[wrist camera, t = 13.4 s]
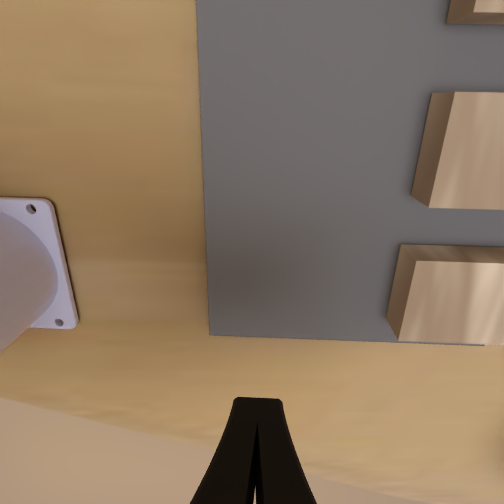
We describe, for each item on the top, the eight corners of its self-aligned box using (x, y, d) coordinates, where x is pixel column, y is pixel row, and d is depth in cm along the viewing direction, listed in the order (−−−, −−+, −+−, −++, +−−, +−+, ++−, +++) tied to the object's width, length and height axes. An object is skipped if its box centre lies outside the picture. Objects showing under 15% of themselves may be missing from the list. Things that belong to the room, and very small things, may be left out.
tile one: (398, 340, 18) (521, 345, 17) (416, 260, 16) (554, 265, 16) (385, 316, 20) (496, 320, 19) (399, 243, 18) (522, 246, 18)
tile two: (428, 207, 15) (576, 211, 15) (455, 91, 13) (624, 94, 13) (409, 195, 17) (540, 198, 17) (430, 93, 15) (576, 95, 15)
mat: (211, 329, 21) (209, 335, 21) (192, -182, 12) (188, -196, 12) (478, 339, 21) (484, 345, 20) (657, -186, 12) (676, -200, 11)
